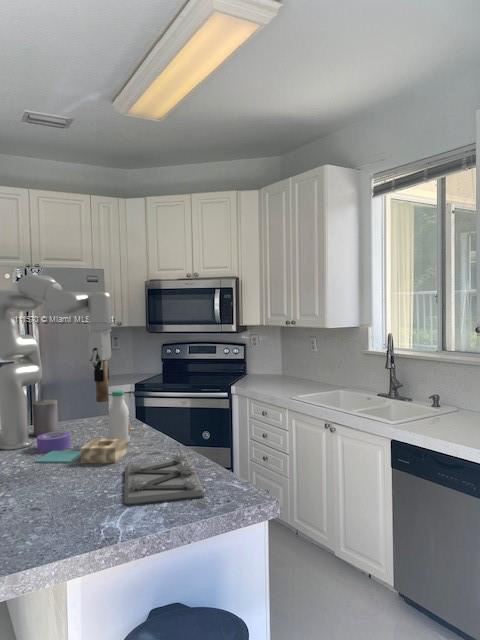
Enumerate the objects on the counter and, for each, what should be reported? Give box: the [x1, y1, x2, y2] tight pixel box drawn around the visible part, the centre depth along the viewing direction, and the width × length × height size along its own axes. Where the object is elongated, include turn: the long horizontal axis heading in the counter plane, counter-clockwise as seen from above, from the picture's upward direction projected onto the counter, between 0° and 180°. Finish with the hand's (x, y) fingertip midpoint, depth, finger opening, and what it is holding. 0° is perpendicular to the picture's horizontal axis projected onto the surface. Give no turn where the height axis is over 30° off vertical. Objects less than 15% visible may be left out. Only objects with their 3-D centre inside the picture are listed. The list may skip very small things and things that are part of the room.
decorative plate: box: [124, 451, 206, 506], centre depth 148 cm, size 30×22×7 cm
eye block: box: [80, 438, 128, 464], centre depth 174 cm, size 12×12×5 cm
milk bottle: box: [108, 390, 131, 444], centre depth 193 cm, size 8×8×20 cm
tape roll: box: [36, 430, 72, 453], centre depth 188 cm, size 12×12×5 cm
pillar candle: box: [32, 399, 59, 438], centre depth 209 cm, size 10×10×15 cm
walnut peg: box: [95, 359, 109, 403], centre depth 173 cm, size 4×4×14 cm
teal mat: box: [35, 450, 81, 464], centre depth 175 cm, size 12×12×1 cm
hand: (101, 379), depth 173 cm, fingers closed on walnut peg, 4 cm apart
